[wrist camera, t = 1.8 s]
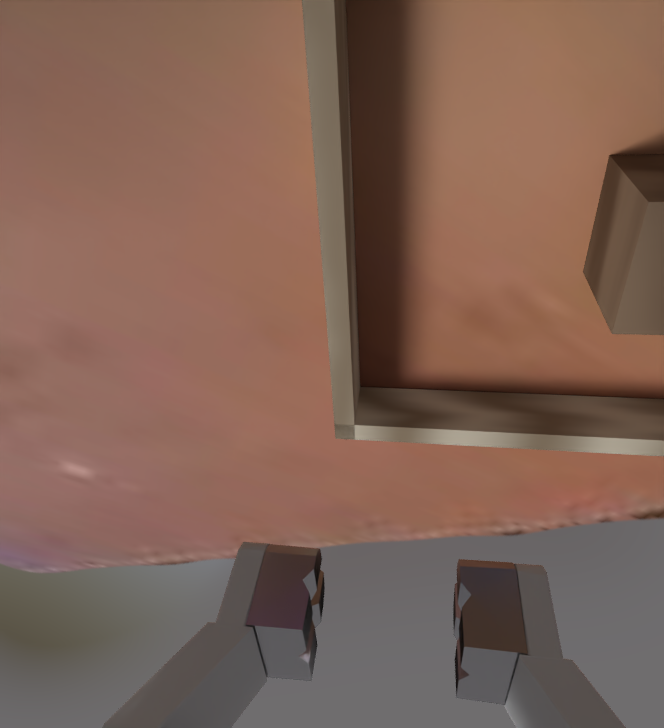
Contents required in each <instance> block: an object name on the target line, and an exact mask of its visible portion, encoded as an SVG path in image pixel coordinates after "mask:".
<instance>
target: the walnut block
mask: <svg viewBox="0 0 664 728" xmlns="http://www.w3.org/2000/svg"><path fill="white" fill-rule="evenodd" d="M583 273H584V275H585V277H586V279H587V281H588V283H589V286H590V288H591V290H592V292H593V294H594V296H595V299H596V301H597V303H598V305H599V307H600V309H601V312H602V314H603V316H604V318H605V320H606V322H607V325H608V327H609V329H610V331H611V333H612V334H642V335H664V154H641V155H609V159H608V164H607V168H606V172H605V177H604V181H603V186H602V190H601V195H600V199H599V203H598V208H597V212H596V217H595V221H594V225H593V230H592V234H591V239H590V243H589V247H588V252H587V256H586V261H585V265H584V270H583Z"/></svg>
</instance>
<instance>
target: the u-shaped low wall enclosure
mask: <svg viewBox="0 0 664 728" xmlns="http://www.w3.org/2000/svg"><path fill="white" fill-rule="evenodd" d="M302 7H303V20H304V33H305V47H306V60H307V73H308V86H309V99H310V112H311V125H312V138H313V151H314V164H315V177H316V190H317V203H318V216H319V229H320V242H321V255H322V268H323V281H324V294H325V307H326V320H327V333H328V346H329V359H330V372H331V385H332V398H333V411H334V424H335V437H336V439H354V440H372V441H391V442H409V443H428V444H446V445H465V446H483V447H502V448H520V449H538V450H557V451H575V452H594V453H612V454H631V455H649V456H664V399H647V398H622V397H598V396H573V395H548V394H524V393H499V392H474V391H450V390H425V389H400V388H376V387H360V365H359V339H358V312H357V286H356V259H355V233H354V206H353V180H352V153H351V126H350V100H349V73H348V47H347V20H346V0H302Z"/></svg>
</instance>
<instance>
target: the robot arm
mask: <svg viewBox="0 0 664 728" xmlns="http://www.w3.org/2000/svg"><path fill="white" fill-rule="evenodd" d="M321 562H322V556H321V550H320V549H319V548H307V547H296V546H285V545H273V544H267V543H253V542H243V543H242V545H241V547H240V548H239V550H238V553H237V556H236V559H235V563H234V566H233V569H232V572H231V575H230V578H229V582H228V585H227V588H226V591H225V594H224V598H223V601H222V604H221V607H220V610H219V613H218V617H217V620H216V623H211V622H208V623H207V624H206V625H205V626H204V627H203V628H202V629H201V630H200V631H199V632H198V633H197V634H196V635H195V636H194V637H193V638H191V640H190V641H188V642H187V643H186V644H185V645H184V646H183V647H182V648H181V649H180V650H179V651H178V652H177V653H176V654H175V655H174V656H173V657H172V658H171V659H170V660H169V661H168V662H167V663H166V664H165V665H164V666H163V667H162V668H161V669H160V670H159V671H158V672H157V673H156V674H155V675H154V676H153V677H152V678H151V679H150V680H148V682H146V684H145V685H143V686H142V687H141V688H140V689H139V690H138V691H137V692H136V693H135V694H134V695H133V696H132V697H131V698H130V699H129V700H128V701H127V702H126V703H125V704H124V705H123V706H122V707H121V708H120V709H119V710H118V711H117V712H116V713H115V714H114V715H113V716H112V717H111V718H110V719H109V720H108V721H107V722H105V723H104V725H103V728H231V727H232V726H233V724H234V723H235V722H236V721H237V719H238V718H239V717H240V715H241V714H242V713H243V711H244V710H245V709H246V707H247V706H248V705H249V704H250V702H251V701H252V700H253V698H254V697H255V696H256V694H257V693H258V692H259V690H260V689H261V688H262V686H263V685H264V684H265V683H266V681H267V677H271V678H282V679H294V680H306V681H311V680H312V674H313V669H314V663H315V657H316V651H317V638H316V632H315V628H316V627H317V626H318V625H319V624H320V622H321V619H322V612H323V604H324V590H325V586H324V584H325V583H324V573H323V572H322V571H321V570H320V568H321ZM453 625H454V636H455V638H456V639H457V645H456V653H455V679H456V697H457V698H461V699H469V700H475V701H482V702H489V703H496V704H503V705H505V709H506V710H507V712H508V714H509V716H510V717H511V719H512V721H513V723H514V724H515V726H516V728H626V727H625V726H624V725H623V723H622V722H621V721H620V720H619V718H618V717H617V716H616V715H615V713H614V712H613V711H612V710H611V708H610V707H609V706H608V705H607V703H606V702H605V701H604V699H603V698H602V697H601V696H600V694H599V693H598V692H597V691H596V689H595V688H594V687H593V686H592V684H591V683H590V682H589V681H588V679H587V678H586V677H585V676H584V674H583V673H582V672H581V671H580V669H579V668H578V667H577V665H576V664H575V663H574V662H573V660H569V659H563V656H562V650H561V645H560V640H559V635H558V629H557V624H556V619H555V614H554V609H553V603H552V598H551V593H550V588H549V582H548V577H547V572H546V571H545V569H544V567H543V566H541V565H527V564H513V563H509V562H493V561H478V560H462V559H461V560H460V559H459V560H458V563H457V583H456V584H455V588H454V602H453Z"/></svg>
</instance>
